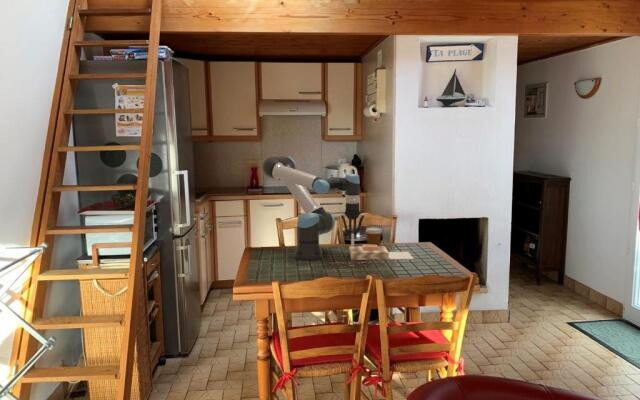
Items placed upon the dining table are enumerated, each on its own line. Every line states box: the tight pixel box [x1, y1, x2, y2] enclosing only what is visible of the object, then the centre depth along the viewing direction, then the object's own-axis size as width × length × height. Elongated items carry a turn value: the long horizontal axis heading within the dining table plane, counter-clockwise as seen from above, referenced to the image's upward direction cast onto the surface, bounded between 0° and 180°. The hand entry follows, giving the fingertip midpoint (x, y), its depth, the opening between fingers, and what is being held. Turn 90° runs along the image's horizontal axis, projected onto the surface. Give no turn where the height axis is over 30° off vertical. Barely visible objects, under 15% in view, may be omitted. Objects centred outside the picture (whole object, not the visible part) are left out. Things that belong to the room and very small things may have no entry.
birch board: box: [348, 245, 390, 261], centre depth 264 cm, size 20×14×4 cm
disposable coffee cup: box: [365, 227, 383, 246], centre depth 281 cm, size 10×10×12 cm
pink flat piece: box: [362, 244, 378, 251], centre depth 264 cm, size 8×6×2 cm
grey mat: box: [388, 251, 415, 261], centre depth 265 cm, size 13×15×1 cm
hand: (352, 245), depth 264 cm, fingers closed
